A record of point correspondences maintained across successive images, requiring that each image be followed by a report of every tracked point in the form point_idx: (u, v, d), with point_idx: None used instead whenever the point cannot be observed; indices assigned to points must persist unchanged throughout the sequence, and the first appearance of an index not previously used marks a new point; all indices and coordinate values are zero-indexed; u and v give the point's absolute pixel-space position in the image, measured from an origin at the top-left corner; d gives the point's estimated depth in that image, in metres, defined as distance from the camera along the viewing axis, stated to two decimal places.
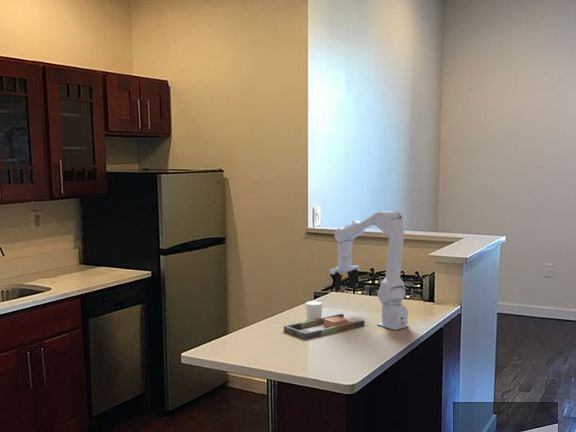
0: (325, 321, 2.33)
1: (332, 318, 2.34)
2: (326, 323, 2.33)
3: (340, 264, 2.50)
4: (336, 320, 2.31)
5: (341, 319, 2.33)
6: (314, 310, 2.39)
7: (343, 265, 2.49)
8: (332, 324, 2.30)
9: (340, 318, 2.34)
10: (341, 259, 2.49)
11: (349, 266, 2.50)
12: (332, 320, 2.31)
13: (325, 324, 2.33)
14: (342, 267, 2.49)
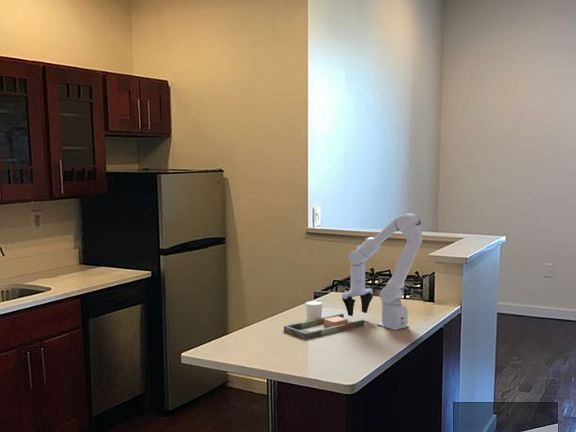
0: (325, 321, 2.33)
1: (332, 318, 2.34)
2: (326, 323, 2.33)
3: (353, 288, 2.37)
4: (336, 320, 2.31)
5: (341, 319, 2.33)
6: (314, 310, 2.39)
7: (356, 289, 2.37)
8: (332, 324, 2.30)
9: (340, 318, 2.34)
10: (354, 283, 2.37)
11: (362, 290, 2.37)
12: (332, 320, 2.31)
13: (325, 324, 2.33)
14: (355, 291, 2.37)
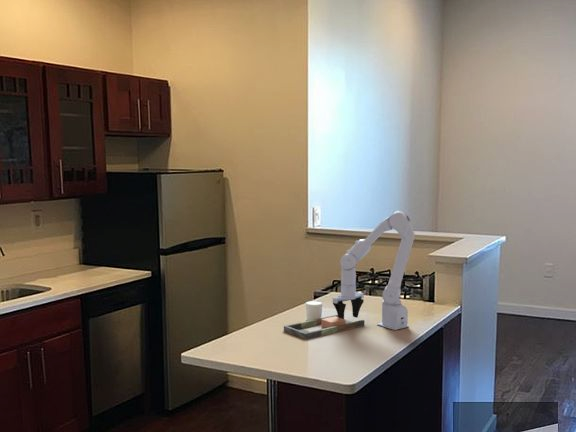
0: (323, 321, 2.32)
1: (330, 318, 2.33)
2: (323, 323, 2.32)
3: (343, 292, 2.34)
4: (334, 320, 2.31)
5: (339, 319, 2.32)
6: (314, 310, 2.39)
7: (347, 293, 2.34)
8: (330, 324, 2.29)
9: (338, 318, 2.33)
10: (344, 287, 2.34)
11: (353, 294, 2.34)
12: (330, 321, 2.30)
13: (323, 324, 2.32)
14: (345, 295, 2.34)
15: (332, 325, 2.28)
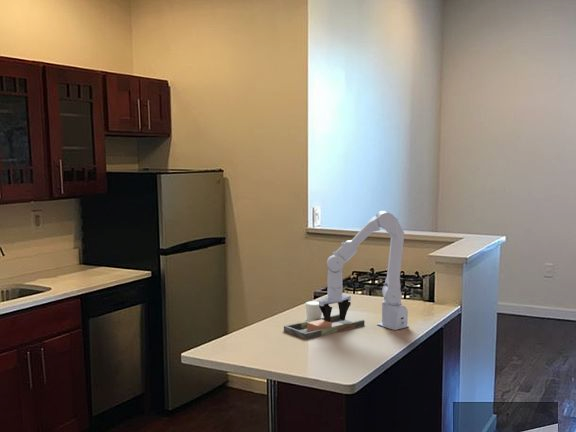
0: (308, 325, 2.28)
1: (316, 321, 2.29)
2: (309, 326, 2.28)
3: (330, 295, 2.30)
4: (320, 324, 2.26)
5: (325, 322, 2.28)
6: (314, 310, 2.39)
7: (333, 296, 2.30)
8: (315, 328, 2.25)
9: (324, 321, 2.29)
10: (331, 289, 2.30)
11: (339, 297, 2.30)
12: (316, 324, 2.26)
13: (308, 328, 2.28)
14: (332, 298, 2.30)
15: (318, 328, 2.24)
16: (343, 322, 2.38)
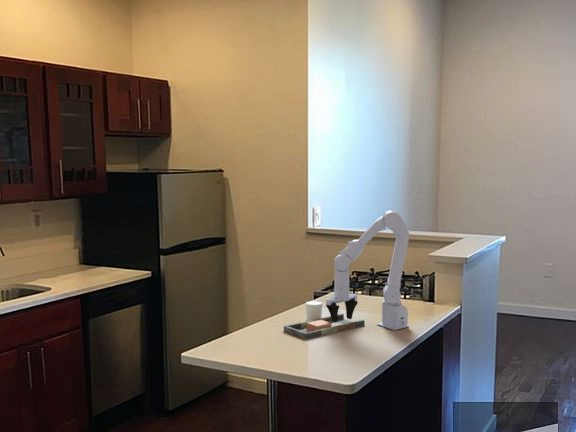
0: (308, 325, 2.28)
1: (315, 322, 2.29)
2: (309, 326, 2.28)
3: (337, 294, 2.32)
4: (319, 324, 2.26)
5: (324, 323, 2.28)
6: (314, 310, 2.39)
7: (340, 295, 2.32)
8: (315, 328, 2.25)
9: (323, 322, 2.29)
10: (338, 288, 2.32)
11: (346, 296, 2.32)
12: (315, 324, 2.26)
13: (308, 328, 2.28)
14: (339, 297, 2.32)
15: (317, 329, 2.24)
16: (343, 322, 2.38)
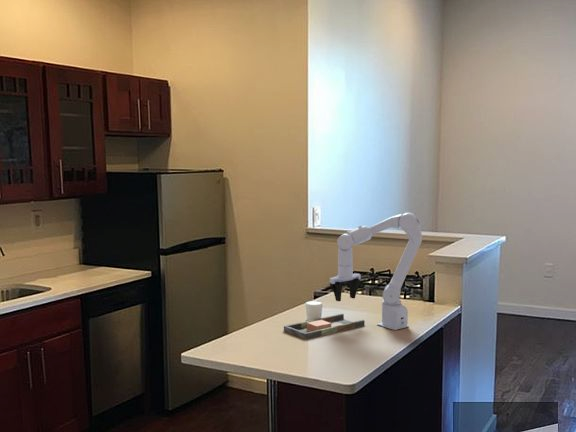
0: (308, 325, 2.28)
1: (315, 322, 2.29)
2: (309, 326, 2.28)
3: (340, 273, 2.34)
4: (319, 324, 2.26)
5: (324, 323, 2.28)
6: (314, 310, 2.39)
7: (344, 274, 2.33)
8: (315, 328, 2.25)
9: (324, 322, 2.29)
10: (342, 267, 2.33)
11: (350, 275, 2.34)
12: (315, 324, 2.26)
13: (308, 328, 2.28)
14: (343, 276, 2.33)
15: (317, 329, 2.24)
16: (343, 322, 2.38)
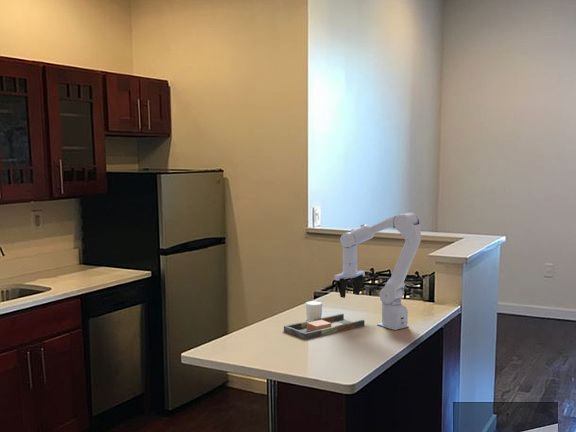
0: (308, 325, 2.28)
1: (315, 322, 2.29)
2: (309, 326, 2.28)
3: (345, 270, 2.40)
4: (319, 324, 2.26)
5: (324, 323, 2.28)
6: (314, 310, 2.39)
7: (348, 271, 2.39)
8: (314, 328, 2.25)
9: (324, 322, 2.29)
10: (346, 265, 2.39)
11: (354, 272, 2.39)
12: (315, 324, 2.26)
13: (308, 328, 2.28)
14: (347, 273, 2.39)
15: (317, 329, 2.24)
16: (343, 322, 2.38)
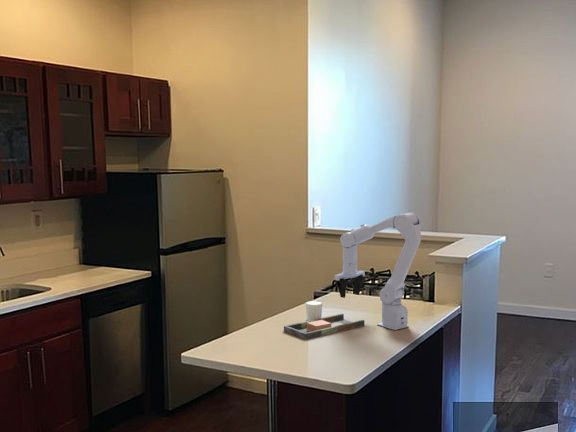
0: (308, 325, 2.28)
1: (315, 322, 2.29)
2: (309, 326, 2.28)
3: (345, 270, 2.40)
4: (319, 324, 2.26)
5: (324, 323, 2.28)
6: (314, 310, 2.39)
7: (348, 271, 2.39)
8: (314, 328, 2.25)
9: (324, 322, 2.29)
10: (346, 265, 2.39)
11: (354, 272, 2.39)
12: (315, 324, 2.26)
13: (308, 328, 2.28)
14: (347, 273, 2.39)
15: (317, 329, 2.24)
16: (343, 322, 2.38)
